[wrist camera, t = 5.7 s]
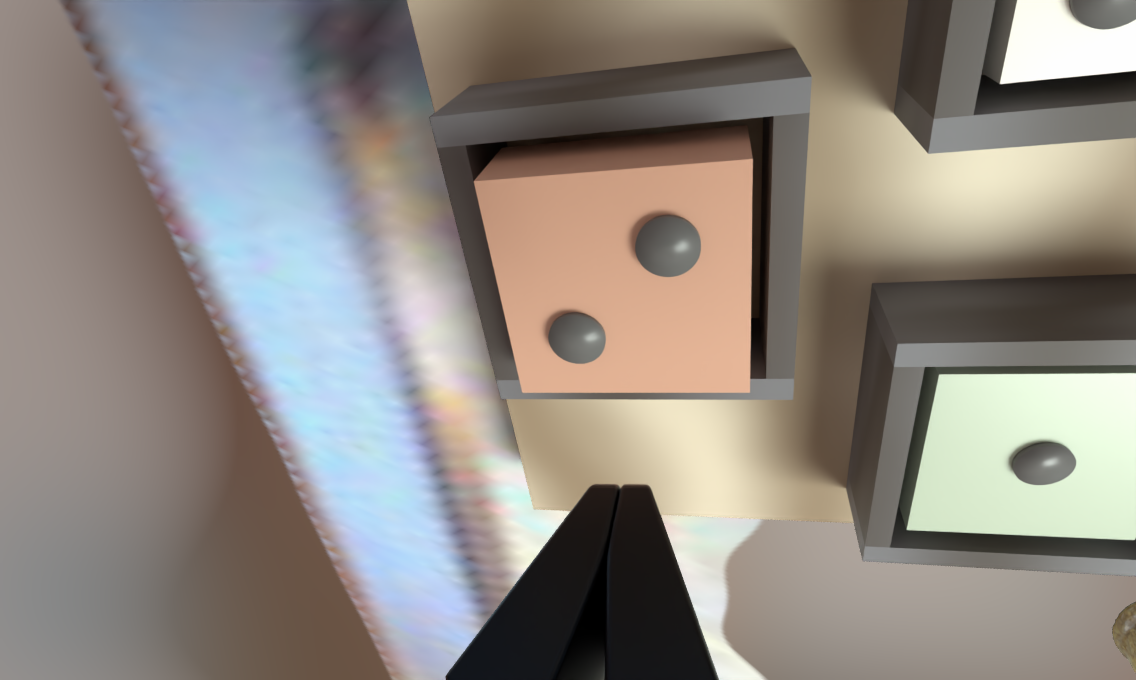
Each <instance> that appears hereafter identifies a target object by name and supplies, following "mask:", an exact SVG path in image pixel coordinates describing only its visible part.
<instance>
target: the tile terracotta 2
mask: <svg viewBox="0 0 1136 680" xmlns="http://www.w3.org/2000/svg"><path fill="white" fill-rule="evenodd" d="M752 184H753V157H752V151H751V145H750V139H749V132H748V126H747V125H743V126H732V127H721V128H710V129H700V130H689V131H678V132H667V133H656V134H645V135H635V136H624V137H613V138H602V139H591V140H580V141H570V142H559V143H548V144H537V145H526V146H515V147H505V148H501V150H500V151H499V152H498V153H497V154H496V155H495V157H494V158H493V159H492V160H491V161H490V163H489V164H488V165H487V166H486V167H485V169H484V170H483V171H482V172H481V173H480V174H479V176H478V177H477V178H476V179H475V180H474V185H475V189H476V194H477V198H478V202H479V207H480V211H481V215H482V220H483V224H484V228H485V233H486V237H487V241H488V246H489V250H490V254H491V259H492V263H493V267H494V272H495V276H496V281H497V285H498V289H499V294H500V298H501V302H502V307H503V311H504V315H505V320H506V324H507V328H508V333H509V337H510V341H511V346H512V350H513V354H514V359H515V363H516V367H517V372H518V376H519V380H520V385H521V389H522V393H750V351H751V268H752Z"/></svg>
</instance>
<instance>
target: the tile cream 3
mask: <svg viewBox="0 0 1136 680" xmlns="http://www.w3.org/2000/svg"><path fill="white" fill-rule="evenodd" d="M1128 71H1136V0H996V1H995V6H994V12H993V17H992V22H991V27H990V32H989V37H988V43H987V48H986V53H985V58H984V63H983V69H982V73H983V74H985V75H986V76H988V77H989V78H991V79H993V80H994V81H996V82H997V83H999V84H1006V83H1016V82H1026V81H1036V80H1046V79H1057V78H1067V77H1077V76H1087V75H1097V74H1108V73H1118V72H1128Z"/></svg>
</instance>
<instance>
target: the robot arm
mask: <svg viewBox="0 0 1136 680" xmlns="http://www.w3.org/2000/svg"><path fill="white" fill-rule="evenodd" d="M446 680H719V678H718V675H717V673H716V670H715V667H714V664H713V661H712V659H711V656H710V653H709V650H708V647H707V644H706V642H705V639H704V636H703V633H702V630H701V628H700V625H699V622H698V619H697V616H696V613H695V611H694V608H693V605H692V602H691V599H690V597H689V594H688V591H687V588H686V585H685V582H684V580H683V577H682V574H681V571H680V568H679V565H678V563H677V560H676V557H675V554H674V551H673V549H672V546H671V543H670V540H669V537H668V534H667V532H666V529H665V526H664V523H663V520H662V518H661V515H660V512H659V509H658V506H657V503H656V501H655V498H654V495H653V492H652V490H651V487H650V486H649V485H647V484H624V485H622V487H621V488H620V486H619V485H617V484H593V485H591V486H590V487H589V488H588V489H587V490H586V492H585V493H584V494H583V496H582V497H581V498H580V500H579V501H578V502H577V504H576V505H575V506H574V508H573V509H572V510H571V512H570V513H569V514H568V515H567V517H566V518H565V519H564V521H563V522H562V523H561V525H560V526H559V527H558V529H557V530H556V531H555V533H554V534H553V535H552V537H551V538H550V539H549V540H548V542H547V543H546V544H545V546H544V547H543V548H542V550H541V551H540V552H539V554H538V555H537V556H536V558H535V559H534V560H533V562H532V563H531V564H530V565H529V567H528V568H527V569H526V571H525V572H524V573H523V575H522V576H521V577H520V579H519V580H518V581H517V583H516V584H515V585H514V587H513V588H512V589H511V590H510V592H509V593H508V594H507V596H506V597H505V598H504V600H503V601H502V602H501V604H500V605H499V606H498V608H497V609H496V610H495V612H494V613H493V614H492V615H491V617H490V618H489V619H488V621H487V622H486V623H485V625H484V626H483V627H482V629H481V630H480V631H479V633H478V634H477V635H476V637H475V638H474V639H473V641H472V642H471V643H470V644H469V646H468V647H467V648H466V650H465V651H464V652H463V654H462V655H461V656H460V658H459V659H458V660H457V662H456V663H455V664H454V665H453V667H452V668H451V669H450V671H449V672H448V673H447V675H446Z"/></svg>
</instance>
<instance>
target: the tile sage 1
mask: <svg viewBox="0 0 1136 680" xmlns="http://www.w3.org/2000/svg"><path fill="white" fill-rule="evenodd" d="M899 507H900V510H901V514H902V517H903V520H904V523H905V527H906V530H917V531H940V532H962V533H985V534H1007V535H1029V536H1052V537H1074V538H1096V539H1119V540H1135V538H1136V365H1083V366H966V367H925V369H924V374H923V379H922V385H921V390H920V395H919V400H918V405H917V410H916V416H915V421H914V426H913V431H912V436H911V442H910V447H909V452H908V457H907V462H906V467H905V473H904V478H903V483H902V488H901V493H900V499H899Z"/></svg>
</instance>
